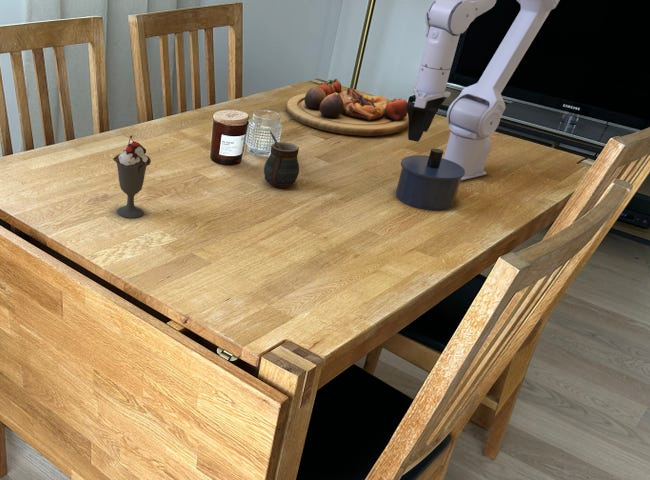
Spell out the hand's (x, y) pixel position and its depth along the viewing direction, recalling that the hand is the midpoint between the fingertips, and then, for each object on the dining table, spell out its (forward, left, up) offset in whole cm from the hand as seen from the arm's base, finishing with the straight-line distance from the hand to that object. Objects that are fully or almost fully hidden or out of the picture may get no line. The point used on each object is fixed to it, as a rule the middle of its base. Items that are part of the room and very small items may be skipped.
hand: (417, 135), depth 149 cm
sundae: (+61, -12, -11) cm, 63 cm away
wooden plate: (-21, -39, -11) cm, 46 cm away
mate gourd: (+26, -11, -11) cm, 30 cm away
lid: (+3, +8, -4) cm, 9 cm away
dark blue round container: (+3, +8, -10) cm, 13 cm away
